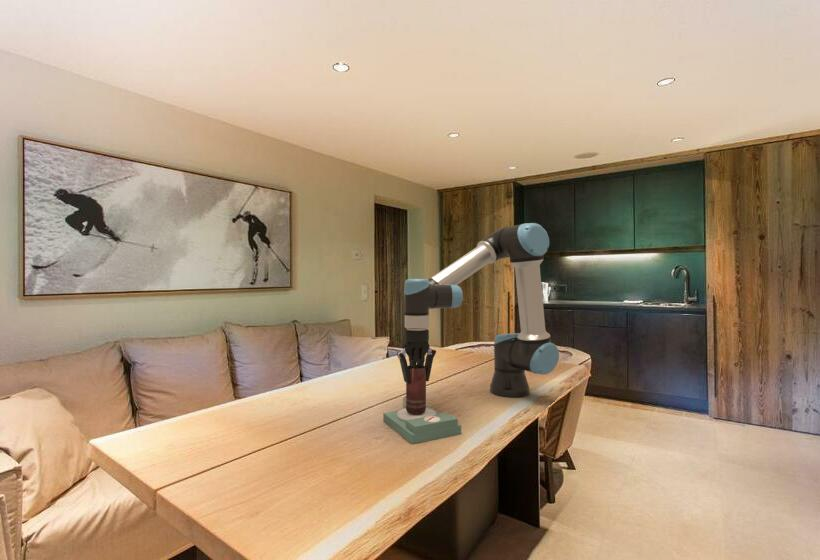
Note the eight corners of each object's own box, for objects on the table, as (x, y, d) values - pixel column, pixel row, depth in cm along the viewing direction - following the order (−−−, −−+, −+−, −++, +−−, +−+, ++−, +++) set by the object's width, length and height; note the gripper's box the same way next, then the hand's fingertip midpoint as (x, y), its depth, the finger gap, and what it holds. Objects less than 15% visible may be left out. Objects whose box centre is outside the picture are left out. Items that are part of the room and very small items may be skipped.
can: (404, 414, 123) (404, 368, 122) (408, 407, 129) (408, 363, 129) (423, 415, 122) (424, 369, 121) (427, 408, 128) (427, 364, 127)
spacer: (411, 407, 141) (411, 395, 141) (416, 410, 138) (416, 399, 138) (401, 409, 140) (400, 397, 140) (406, 412, 136) (406, 400, 136)
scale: (427, 413, 135) (427, 398, 135) (461, 433, 117) (461, 416, 117) (383, 420, 128) (383, 405, 128) (412, 444, 110) (412, 426, 110)
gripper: (429, 326, 131) (429, 398, 131) (392, 328, 125) (392, 404, 125) (441, 328, 124) (441, 405, 124) (402, 331, 118) (402, 411, 119)
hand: (416, 404), depth 125 cm, fingers closed
